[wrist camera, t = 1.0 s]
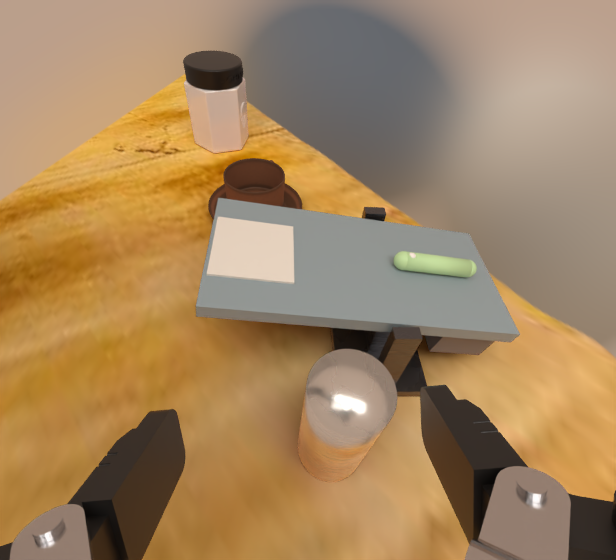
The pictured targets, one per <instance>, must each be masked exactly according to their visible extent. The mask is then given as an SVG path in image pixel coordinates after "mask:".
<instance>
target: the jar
mask: <svg viewBox="0 0 616 560" xmlns="http://www.w3.org/2000/svg"><path fill="white" fill-rule="evenodd" d="M183 63H184V68H185V74H186V79H187V80H186V81H185V82H184V85H185V91H186V96H187V102H188V107H189V113H190V118H191V123H192V129H193V134H194V140H195V143H196V144H198V145H200V146H201V147H203V148H205V149H207V150H209V151H211V152H212V153H221V152H229V151H236V150H241V149H242V148H243V146H244V144H245V142H246V140H247V138H248V136H249V135H248V119H247V103H246V87H245V78H243V68H242V61H241V59H240V58H239V57H238V56H236V55H234V54H231V53H227V52H221V51H201V52H195V53H192V54H189V55H188V56H186V57H185V58H184V60H183Z"/></svg>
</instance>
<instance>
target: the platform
mask: <svg viewBox="0 0 616 560" xmlns="http://www.w3.org/2000/svg"><path fill="white" fill-rule="evenodd" d="M196 316H197V317H209V318H221V319H233V320H246V321H258V322H270V323H282V324H294V325H306V326H319V327H331V328H343V329H355V330H367V331H379V332H391V329H392V327H419V328H420V331H421V335H425V338H426V342H427V345H428V348H429V351H431V352H445V353H458V354H472V355H479V354H480V353H482V352H483V351H484V350H485V349H486V348H487V347H489V346H490V345H491V344H492V343H493V342H494V341H501V342H512V341H513V340H514V339H515V338H516V337H518V336H519V335H520V333H519V331H518V330H517V328H516V326H515V324H514V322H513V320H512V318H511V316H510V314H509V312H508V310H507V308H506V306H505V304H504V302H503V300H502V298H501V296H500V294H499V292H498V290H497V288H496V286H495V284H494V282H493V280H492V278H491V276H490V274H489V272H488V270H487V269H486V266H485V265H484V263H483V261H482V259H481V257H480V255H479V253H478V251H477V249H476V247H475V245H474V243H473V241H472V239H471V237H470V235H469V234H467V233H460V232H453V231H447V230H440V229H433V228H426V227H419V226H412V225H405V224H398V223H391V222H384V221H377V220H370V219H363V218H356V217H349V216H342V215H335V214H328V213H322V212H315V211H308V210H301V209H294V208H287V207H280V206H273V205H266V204H259V203H252V202H245V201H238V200H231V199H224V198H218V202H217V207H216V211H215V216H214V221H213V226H212V231H211V235H210V240H209V245H208V250H207V255H206V259H205V264H204V269H203V274H202V279H201V284H200V288H199V293H198V298H197V303H196Z"/></svg>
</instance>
